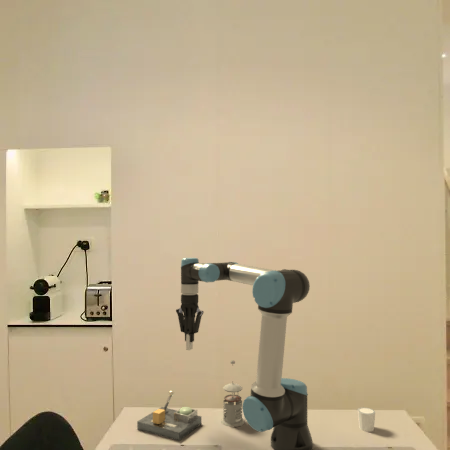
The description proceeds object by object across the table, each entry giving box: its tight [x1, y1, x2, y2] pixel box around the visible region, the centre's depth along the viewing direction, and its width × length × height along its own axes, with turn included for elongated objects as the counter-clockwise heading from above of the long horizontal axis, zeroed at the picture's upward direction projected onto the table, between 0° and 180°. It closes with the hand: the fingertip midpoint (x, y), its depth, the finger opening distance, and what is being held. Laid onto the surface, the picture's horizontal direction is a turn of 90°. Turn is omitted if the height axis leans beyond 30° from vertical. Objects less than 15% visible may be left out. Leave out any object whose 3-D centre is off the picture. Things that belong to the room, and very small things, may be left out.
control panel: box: [136, 406, 202, 442], centre depth 162 cm, size 20×16×6 cm
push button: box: [179, 406, 193, 415], centre depth 163 cm, size 5×5×3 cm
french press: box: [220, 360, 245, 428], centre depth 168 cm, size 10×12×25 cm
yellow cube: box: [153, 408, 165, 424], centre depth 159 cm, size 3×4×4 cm
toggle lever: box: [163, 390, 175, 411], centre depth 167 cm, size 2×2×10 cm
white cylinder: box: [356, 406, 376, 433], centre depth 160 cm, size 7×7×7 cm
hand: (189, 349), depth 172 cm, fingers closed
